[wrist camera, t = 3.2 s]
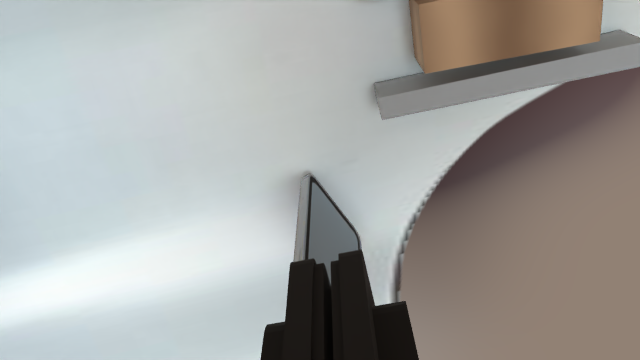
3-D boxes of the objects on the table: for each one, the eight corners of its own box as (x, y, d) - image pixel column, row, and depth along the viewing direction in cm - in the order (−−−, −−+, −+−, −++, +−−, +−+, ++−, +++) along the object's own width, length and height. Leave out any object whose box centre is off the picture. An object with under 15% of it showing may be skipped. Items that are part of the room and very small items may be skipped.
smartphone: (360, 235, 39) (377, 399, 26) (350, 241, 39) (362, 405, 26) (308, 168, 36) (297, 314, 23) (297, 174, 37) (281, 322, 23)
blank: (572, -40, 29) (605, -34, 26) (569, 26, 31) (599, 41, 28) (407, -7, 30) (418, 4, 27) (414, 56, 32) (425, 73, 29)
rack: (629, -102, 28) (661, -104, 25) (618, 52, 32) (645, 65, 29) (353, -34, 30) (355, -29, 27) (377, 103, 34) (382, 119, 31)
